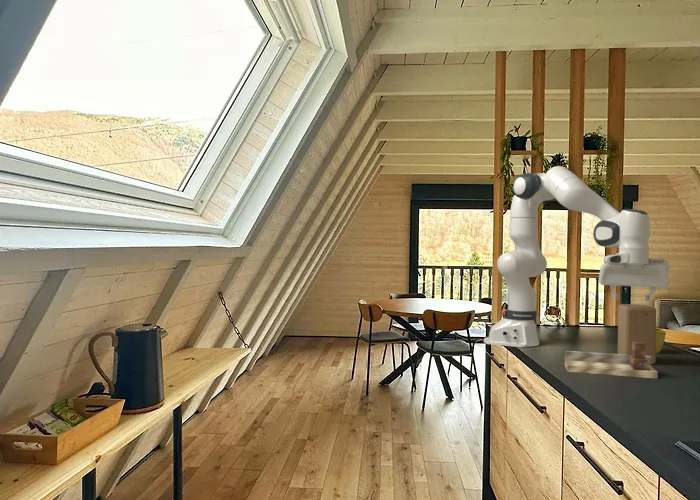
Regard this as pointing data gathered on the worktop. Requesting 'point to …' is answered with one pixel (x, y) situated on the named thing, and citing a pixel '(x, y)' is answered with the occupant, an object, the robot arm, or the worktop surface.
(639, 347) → the marking gauge
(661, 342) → the flower pot
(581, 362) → the board
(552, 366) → the worktop surface
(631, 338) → the wooden block
